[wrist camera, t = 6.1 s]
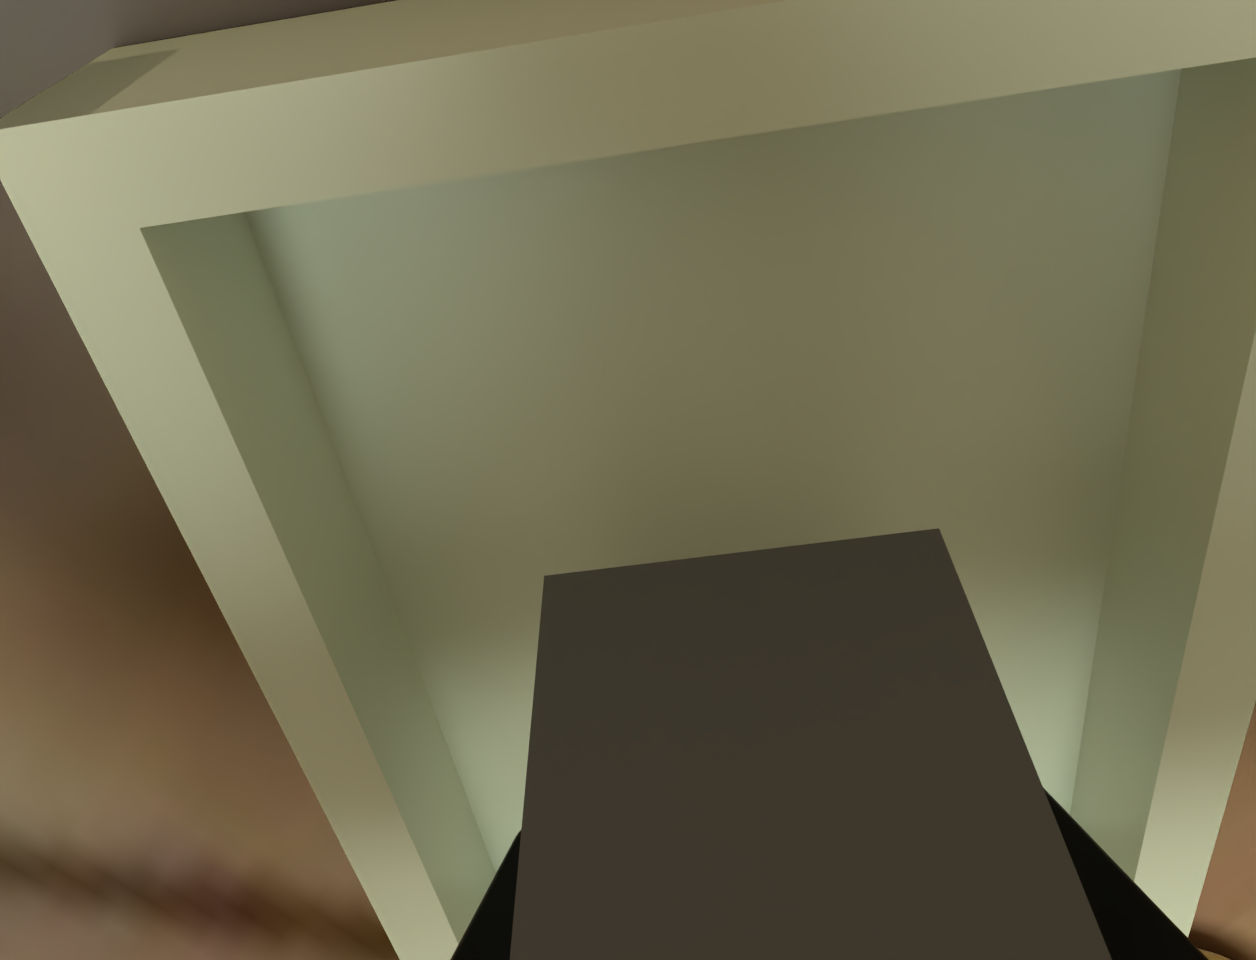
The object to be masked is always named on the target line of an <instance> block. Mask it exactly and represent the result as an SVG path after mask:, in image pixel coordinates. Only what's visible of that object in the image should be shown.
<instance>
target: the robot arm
mask: <svg viewBox="0 0 1256 960" xmlns="http://www.w3.org/2000/svg"><path fill="white" fill-rule="evenodd" d="M1043 789H1044V788H1043ZM1044 791H1045V794H1046V796H1047V799H1048V801H1049V804H1050V806H1051V809H1052V811H1053V814H1054V816H1055V819H1056V821H1057V824H1058V826H1059V829H1060V831H1061V834H1062V836H1063V839H1064V841H1065V844H1066V846H1067V849H1068V851H1069V854H1070V856H1071V859H1072V861H1073V864H1074V866H1075V869H1076V871H1077V874H1078V876H1079V879H1080V881H1081V884H1082V886H1083V889H1084V891H1085V894H1086V896H1087V899H1088V901H1089V904H1090V906H1091V909H1092V911H1093V914H1094V916H1095V919H1096V921H1097V924H1098V926H1099V929H1100V931H1101V934H1102V936H1103V939H1104V941H1105V944H1106V946H1107V949H1108V951H1109V954H1110V956H1111V959H1112V960H1209V959H1208V958H1207V957H1206V956H1205V955H1204V954H1203V953H1202V952H1201V951H1200V950H1199V949H1198V948H1197V947H1196V946H1195V945H1194V944H1193V943H1192V942H1191V941H1190V940H1189V939H1188V937H1187V936H1186V935H1185V934H1184V933H1183V932H1182V931H1181V930H1180V929H1179V928H1178V927H1177V926H1176V925H1175V924H1174V923H1173V922H1172V921H1171V920H1170V919H1169V918H1168V917H1167V916H1166V915H1165V914H1164V912H1163V911H1162V910H1161V909H1160V908H1159V907H1158V906H1157V905H1156V904H1155V903H1154V902H1153V901H1152V900H1151V899H1150V898H1149V897H1148V896H1147V895H1146V894H1145V893H1144V892H1143V891H1142V890H1141V889H1140V888H1139V886H1138V885H1137V884H1136V883H1135V882H1134V881H1133V880H1132V879H1131V878H1130V877H1129V876H1128V875H1127V874H1126V873H1125V872H1124V871H1123V870H1122V869H1121V868H1120V867H1119V866H1118V865H1117V864H1116V863H1115V862H1114V860H1113V859H1112V858H1111V857H1110V856H1109V855H1108V854H1107V853H1106V852H1105V851H1104V850H1103V849H1102V848H1101V847H1100V846H1099V845H1098V844H1097V843H1096V842H1095V841H1094V840H1093V839H1092V838H1091V837H1090V835H1089V834H1088V833H1087V832H1086V831H1085V830H1084V829H1083V828H1082V827H1081V826H1080V825H1079V824H1078V823H1077V822H1076V821H1075V820H1074V819H1073V818H1072V817H1071V816H1070V815H1069V814H1068V813H1067V812H1066V811H1065V809H1064V808H1063V807H1062V806H1061V805H1060V804H1059V803H1058V802H1057V801H1056V800H1055V799H1054V798H1053V797H1052V796H1051V795H1050V794H1049V793H1048V792H1047V791H1046V790H1045V789H1044ZM520 839H521V830H520V831H519V832H518V834H517V835H516V837H515V839H514V840H513V842H512V844H511V846H510V848H509V850H508V852H507V854H506V856H505V857H504V859H503V861H502V863H501V865H500V867H499V869H498V871H497V872H496V874H495V876H494V878H493V880H492V882H491V884H490V886H489V888H488V889H487V891H486V893H485V895H484V897H483V899H482V901H481V903H480V905H479V906H478V908H477V910H476V912H475V914H474V916H473V918H472V920H471V921H470V923H469V925H468V927H467V929H466V931H465V933H464V935H463V937H462V938H461V940H460V942H459V944H458V946H457V948H456V950H455V952H454V954H453V955H452V957H451V959H450V960H510V951H511V940H512V928H513V917H514V906H515V895H516V884H517V873H518V862H519V850H520Z"/></svg>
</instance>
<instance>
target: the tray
mask: <svg viewBox="0 0 1256 960" xmlns="http://www.w3.org/2000/svg"><path fill="white" fill-rule="evenodd" d="M0 180H1V182H2V184H3V186H4V188H5V190H6V192H7V194H8V196H9V198H10V200H11V202H12V204H13V206H14V208H15V210H16V212H17V214H18V215H19V217H20V219H21V221H22V223H23V225H24V227H25V229H26V231H27V233H28V235H29V237H30V239H31V241H32V243H33V245H34V247H35V249H36V251H37V253H38V255H39V256H40V258H41V260H42V262H43V264H44V266H45V268H46V270H47V272H48V274H49V276H50V278H51V280H52V282H53V284H54V286H55V288H56V290H57V292H58V294H59V296H60V297H61V299H62V301H63V303H64V305H65V307H66V309H67V311H68V313H69V315H70V317H71V319H72V321H73V323H74V325H75V327H76V329H77V331H78V333H79V335H80V336H81V338H82V340H83V342H84V344H85V346H86V348H87V350H88V352H89V354H90V356H91V358H92V360H93V362H94V364H95V366H96V368H97V370H98V372H99V374H100V376H101V377H102V379H103V381H104V383H105V385H106V387H107V389H108V391H109V393H110V395H111V397H112V399H113V401H114V403H115V405H116V407H117V409H118V411H119V413H120V415H121V417H122V418H123V420H124V422H125V424H126V426H127V428H128V430H129V432H130V434H131V436H132V438H133V440H134V442H135V444H136V446H137V448H138V450H139V452H140V454H141V456H142V458H143V459H144V461H145V463H146V465H147V467H148V469H149V471H150V473H151V475H152V477H153V479H154V481H155V483H156V485H157V487H158V489H159V491H160V493H161V495H162V497H163V498H164V500H165V502H166V504H167V506H168V508H169V510H170V512H171V514H172V516H173V518H174V520H175V522H176V524H177V526H178V528H179V530H180V532H181V534H182V536H183V538H184V539H185V541H186V543H187V545H188V547H189V549H190V551H191V553H192V555H193V557H194V559H195V561H196V563H197V565H198V567H199V569H200V571H201V573H202V575H203V577H204V579H205V580H206V582H207V584H208V586H209V588H210V590H211V592H212V594H213V596H214V598H215V600H216V602H217V604H218V606H219V608H220V610H221V612H222V614H223V616H224V618H225V619H226V621H227V623H228V625H229V627H230V629H231V631H232V633H233V635H234V637H235V639H236V641H237V643H238V645H239V647H240V649H241V651H242V653H243V655H244V657H245V659H246V660H247V662H248V664H249V666H250V668H251V670H252V672H253V674H254V676H255V678H256V680H257V682H258V684H259V686H260V688H261V690H262V692H263V694H264V696H265V698H266V700H267V701H268V703H269V705H270V707H271V709H272V711H273V713H274V715H275V717H276V719H277V721H278V723H279V725H280V727H281V729H282V731H283V733H284V735H285V737H286V739H287V741H288V742H289V744H290V746H291V748H292V750H293V752H294V754H295V756H296V758H297V760H298V762H299V764H300V766H301V768H302V770H303V772H304V774H305V776H306V778H307V780H308V781H309V783H310V785H311V787H312V789H313V791H314V793H315V795H316V797H317V799H318V801H319V803H320V805H321V807H322V809H323V811H324V813H325V815H326V817H327V819H328V821H329V822H330V824H331V826H332V828H333V830H334V832H335V834H336V836H337V838H338V840H339V842H340V844H341V846H342V848H343V850H344V852H345V854H346V856H347V858H348V860H349V862H350V863H351V865H352V867H353V869H354V871H355V873H356V875H357V877H358V879H359V881H360V883H361V885H362V887H363V889H364V891H365V893H366V895H367V897H368V899H369V901H370V903H371V904H372V906H373V908H374V910H375V912H376V914H377V916H378V918H379V920H380V922H381V924H382V926H383V928H384V930H385V932H386V934H387V936H388V938H389V940H390V942H391V943H392V945H393V947H394V949H395V951H396V953H397V955H398V957H399V959H400V960H450V959H451V957H452V955H453V954H454V952H455V950H456V948H457V946H458V944H459V942H460V940H461V938H462V937H463V935H464V933H465V931H466V929H467V927H468V925H469V923H470V921H471V920H472V918H473V916H474V914H475V912H476V910H477V908H478V906H479V905H480V903H481V901H482V899H483V897H484V895H485V893H486V891H487V889H488V888H489V886H490V884H491V882H492V880H493V878H494V876H495V874H496V872H497V871H498V869H499V867H500V865H501V863H502V861H503V859H504V857H505V856H506V854H507V852H508V850H509V848H510V846H511V844H512V842H513V840H514V839H515V837H516V835H517V834H518V832H519V831H520V830H521V828H522V817H523V806H524V795H525V784H526V772H527V761H528V750H529V739H530V728H531V717H532V706H533V694H534V683H535V672H536V661H537V650H538V639H539V628H540V616H541V605H542V594H543V583H544V576H546V575H555V574H563V573H571V572H580V571H588V570H596V569H604V568H613V567H621V566H629V565H638V564H646V563H654V562H663V561H671V560H679V559H688V558H696V557H704V556H713V555H721V554H729V553H737V552H746V551H754V550H762V549H771V548H779V547H787V546H796V545H804V544H812V543H821V542H829V541H837V540H846V539H854V538H862V537H871V536H879V535H887V534H895V533H904V532H912V531H920V530H929V529H937V528H939V529H940V532H941V534H942V537H943V539H944V542H945V544H946V547H947V549H948V552H949V554H950V557H951V559H952V562H953V564H954V567H955V569H956V572H957V574H958V577H959V579H960V582H961V584H962V587H963V589H964V592H965V594H966V597H967V599H968V602H969V604H970V607H971V609H972V612H973V614H974V617H975V619H976V622H977V624H978V627H979V629H980V632H981V634H982V637H983V639H984V642H985V644H986V647H987V649H988V652H989V654H990V657H991V659H992V662H993V664H994V667H995V669H996V672H997V674H998V677H999V679H1000V682H1001V684H1002V687H1003V689H1004V692H1005V694H1006V697H1007V699H1008V702H1009V704H1010V707H1011V709H1012V712H1013V714H1014V717H1015V719H1016V722H1017V724H1018V727H1019V729H1020V732H1021V734H1022V737H1023V739H1024V742H1025V744H1026V747H1027V749H1028V752H1029V754H1030V756H1031V759H1032V761H1033V764H1034V766H1035V769H1036V771H1037V774H1038V776H1039V779H1040V781H1041V784H1042V786H1043V788H1044V789H1045V790H1046V791H1047V792H1048V793H1049V794H1050V795H1051V796H1052V797H1053V798H1054V799H1055V800H1056V801H1057V802H1058V803H1059V804H1060V805H1061V806H1062V807H1063V808H1064V809H1065V811H1066V812H1067V813H1068V814H1069V815H1070V816H1071V817H1072V818H1073V819H1074V820H1075V821H1076V822H1077V823H1078V824H1079V825H1080V826H1081V827H1082V828H1083V829H1084V830H1085V831H1086V832H1087V833H1088V834H1089V835H1090V837H1091V838H1092V839H1093V840H1094V841H1095V842H1096V843H1097V844H1098V845H1099V846H1100V847H1101V848H1102V849H1103V850H1104V851H1105V852H1106V853H1107V854H1108V855H1109V856H1110V857H1111V858H1112V859H1113V860H1114V862H1115V863H1116V864H1117V865H1118V866H1119V867H1120V868H1121V869H1122V870H1123V871H1124V872H1125V873H1126V874H1127V875H1128V876H1129V877H1130V878H1131V879H1132V880H1133V881H1134V882H1135V883H1136V884H1137V885H1138V886H1139V888H1140V889H1141V890H1142V891H1143V892H1144V893H1145V894H1146V895H1147V896H1148V897H1149V898H1150V899H1151V900H1152V901H1153V902H1154V903H1155V904H1156V905H1157V906H1158V907H1159V908H1160V909H1161V910H1162V911H1163V912H1164V914H1165V915H1166V916H1167V917H1168V918H1169V919H1170V920H1171V921H1172V922H1173V923H1174V924H1175V925H1176V926H1177V927H1178V928H1179V929H1180V930H1181V931H1182V932H1183V933H1184V934H1185V935H1186V936H1187V937H1188V936H1189V933H1190V929H1191V926H1192V922H1193V919H1194V915H1195V912H1196V908H1197V905H1198V901H1199V898H1200V894H1201V891H1202V887H1203V884H1204V880H1205V877H1206V873H1207V870H1208V866H1209V863H1210V859H1211V856H1212V852H1213V849H1214V845H1215V842H1216V838H1217V835H1218V831H1219V828H1220V824H1221V821H1222V817H1223V814H1224V810H1225V807H1226V803H1227V800H1228V796H1229V793H1230V789H1231V786H1232V782H1233V779H1234V775H1235V772H1236V768H1237V765H1238V761H1239V758H1240V754H1241V751H1242V747H1243V744H1244V740H1245V737H1246V733H1247V730H1248V726H1249V723H1250V719H1251V716H1252V712H1253V709H1254V705H1255V702H1256V0H396V1H390V2H384V3H379V4H373V5H367V6H361V7H355V8H349V9H343V10H337V11H331V12H325V13H319V14H313V15H307V16H301V17H296V18H290V19H284V20H278V21H272V22H266V23H260V24H254V25H248V26H242V27H236V28H230V29H224V30H218V31H212V32H207V33H201V34H195V35H189V36H183V37H177V38H171V39H165V40H159V41H153V42H147V43H141V44H135V45H129V46H123V47H118V48H112V49H110V50H109V51H107V52H106V53H104V54H102V55H101V56H99V57H98V58H96V59H94V60H93V61H91V62H90V63H88V64H86V65H85V66H83V67H81V68H80V69H78V70H77V71H75V72H73V73H72V74H70V75H69V76H67V77H65V78H64V79H62V80H61V81H59V82H57V83H56V84H54V85H53V86H51V87H49V88H48V89H46V90H45V91H43V92H41V93H40V94H38V95H37V96H35V97H33V98H32V99H30V100H29V101H27V102H25V103H24V104H22V105H21V106H19V107H17V108H16V109H14V110H13V111H11V112H9V113H8V114H6V115H5V116H3V117H1V118H0Z"/></svg>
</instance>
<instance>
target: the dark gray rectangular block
mask: <svg viewBox="0 0 1256 960" xmlns="http://www.w3.org/2000/svg"><path fill="white" fill-rule="evenodd" d="M510 960H1112V959H1111V956H1110V954H1109V951H1108V949H1107V946H1106V944H1105V941H1104V939H1103V936H1102V934H1101V931H1100V929H1099V926H1098V924H1097V921H1096V919H1095V916H1094V914H1093V911H1092V909H1091V906H1090V904H1089V901H1088V899H1087V896H1086V894H1085V891H1084V889H1083V886H1082V884H1081V881H1080V879H1079V876H1078V874H1077V871H1076V869H1075V866H1074V864H1073V861H1072V859H1071V856H1070V854H1069V851H1068V849H1067V846H1066V844H1065V841H1064V839H1063V836H1062V834H1061V831H1060V829H1059V826H1058V824H1057V821H1056V819H1055V816H1054V814H1053V811H1052V809H1051V806H1050V804H1049V801H1048V799H1047V796H1046V794H1045V791H1044V789H1043V786H1042V784H1041V781H1040V779H1039V776H1038V774H1037V771H1036V769H1035V766H1034V764H1033V761H1032V759H1031V756H1030V754H1029V752H1028V749H1027V747H1026V744H1025V742H1024V739H1023V737H1022V734H1021V732H1020V729H1019V727H1018V724H1017V722H1016V719H1015V717H1014V714H1013V712H1012V709H1011V707H1010V704H1009V702H1008V699H1007V697H1006V694H1005V692H1004V689H1003V687H1002V684H1001V682H1000V679H999V677H998V674H997V672H996V669H995V667H994V664H993V662H992V659H991V657H990V654H989V652H988V649H987V647H986V644H985V642H984V639H983V637H982V634H981V632H980V629H979V627H978V624H977V622H976V619H975V617H974V614H973V612H972V609H971V607H970V604H969V602H968V599H967V597H966V594H965V592H964V589H963V587H962V584H961V582H960V579H959V577H958V574H957V572H956V569H955V567H954V564H953V562H952V559H951V557H950V554H949V552H948V549H947V547H946V544H945V542H944V539H943V537H942V534H941V532H940V529H939V528H937V529H929V530H920V531H912V532H904V533H895V534H887V535H879V536H871V537H862V538H854V539H846V540H837V541H829V542H821V543H812V544H804V545H796V546H787V547H779V548H771V549H762V550H754V551H746V552H737V553H729V554H721V555H713V556H704V557H696V558H688V559H679V560H671V561H663V562H654V563H646V564H638V565H629V566H621V567H613V568H604V569H596V570H588V571H580V572H571V573H563V574H555V575H546V576H544V583H543V594H542V605H541V616H540V628H539V639H538V650H537V661H536V672H535V683H534V694H533V706H532V717H531V728H530V739H529V750H528V761H527V772H526V784H525V795H524V806H523V817H522V828H521V839H520V850H519V862H518V873H517V884H516V895H515V906H514V917H513V928H512V940H511V951H510Z"/></svg>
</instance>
